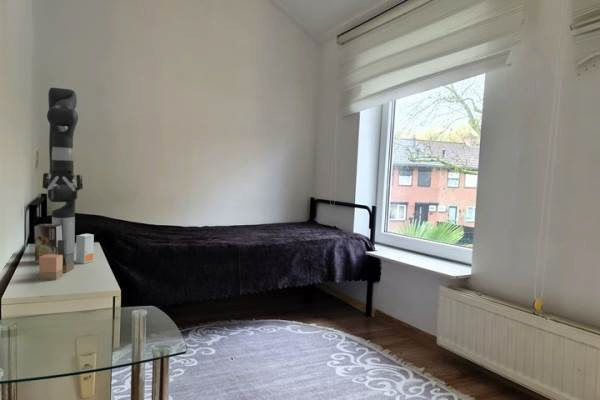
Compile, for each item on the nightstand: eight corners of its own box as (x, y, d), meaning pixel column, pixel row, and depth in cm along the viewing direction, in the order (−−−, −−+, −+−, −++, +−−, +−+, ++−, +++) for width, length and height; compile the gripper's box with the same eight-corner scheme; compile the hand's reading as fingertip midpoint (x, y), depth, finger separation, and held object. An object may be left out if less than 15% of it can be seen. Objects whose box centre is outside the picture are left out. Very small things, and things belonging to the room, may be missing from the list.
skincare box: (84, 264, 185) (84, 236, 184) (75, 263, 186) (75, 235, 185) (94, 261, 191) (94, 234, 190) (85, 260, 192) (85, 233, 191)
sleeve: (62, 268, 177) (62, 252, 176) (73, 268, 177) (73, 252, 177) (54, 272, 170) (54, 256, 169) (66, 272, 170) (66, 256, 170)
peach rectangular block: (45, 276, 165) (45, 254, 164) (62, 276, 166) (62, 254, 165) (39, 279, 160) (39, 257, 159) (56, 280, 161) (56, 257, 160)
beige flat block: (61, 260, 174) (61, 239, 173) (68, 260, 174) (68, 239, 173) (46, 267, 162) (46, 245, 161) (54, 268, 162) (54, 245, 161)
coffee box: (63, 260, 189) (63, 224, 188) (56, 264, 183) (57, 226, 181) (41, 260, 188) (41, 223, 187) (33, 263, 182) (33, 225, 180)
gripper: (39, 158, 167) (39, 200, 169) (77, 160, 169) (77, 201, 170) (48, 158, 175) (48, 198, 176) (85, 160, 176) (85, 199, 178)
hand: (62, 199), depth 173 cm, fingers open, 8 cm apart
